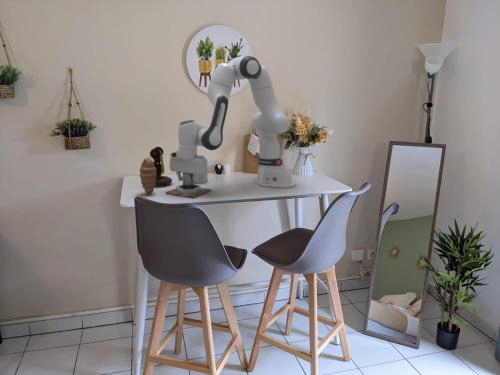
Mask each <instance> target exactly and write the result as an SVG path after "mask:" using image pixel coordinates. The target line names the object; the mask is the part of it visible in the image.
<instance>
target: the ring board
mask: <svg viewBox="0 0 500 375" xmlns="http://www.w3.org/2000/svg"><path fill="white" fill-rule="evenodd" d="M211 191H212V190H211V188H204V187H201V185H199V184H197V183H194V189H183V183H182V184H179V185H176V186H175V188H173V189H171V190H167V191H166V192H165V195H170V196H175V197H180V198H187V199H195V198H198V197H200V196H202V195H206V194H208V193H209V192H211Z"/></svg>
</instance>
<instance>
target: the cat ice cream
mask: <svg viewBox="0 0 500 375" xmlns="http://www.w3.org/2000/svg"><path fill="white" fill-rule="evenodd" d="M140 164H141V166H140V168H139V178H140V184H141V185H142V186H141V187H142V188H143V189H144V193H145V194H147V195H151V194H153V192H154V188H155V186H156V185H155V182H156V176H157V174H156V168H155V167H154V160H153V159H151V156H148V157H147V158H144V160H143V161H142V162H141V163H140Z"/></svg>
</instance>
